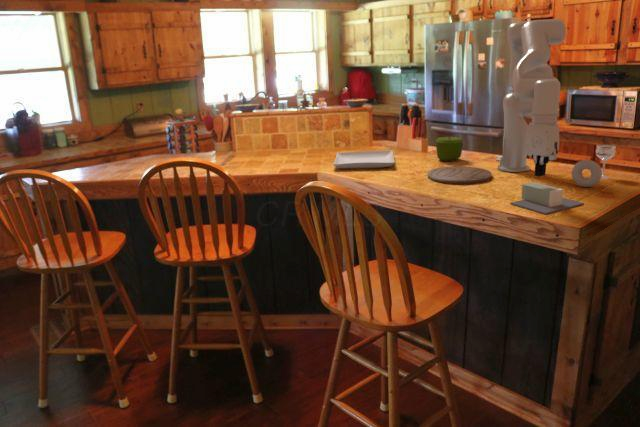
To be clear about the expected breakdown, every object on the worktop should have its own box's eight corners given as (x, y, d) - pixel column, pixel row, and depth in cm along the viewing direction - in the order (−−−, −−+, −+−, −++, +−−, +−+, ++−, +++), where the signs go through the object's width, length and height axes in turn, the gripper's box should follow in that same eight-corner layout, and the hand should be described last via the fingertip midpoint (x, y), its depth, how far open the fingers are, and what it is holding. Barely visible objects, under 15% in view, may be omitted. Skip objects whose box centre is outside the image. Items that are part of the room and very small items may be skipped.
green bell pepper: (457, 163, 237) (458, 138, 234) (431, 161, 243) (431, 137, 240) (465, 158, 247) (466, 134, 244) (440, 156, 253) (441, 132, 250)
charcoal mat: (510, 204, 176) (510, 202, 176) (547, 195, 184) (547, 193, 184) (545, 214, 164) (545, 213, 164) (583, 204, 172) (583, 203, 172)
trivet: (498, 173, 219) (498, 168, 218) (482, 188, 198) (482, 183, 198) (439, 168, 231) (439, 164, 231) (418, 182, 211) (418, 177, 210)
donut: (601, 187, 190) (604, 160, 187) (598, 189, 188) (601, 162, 185) (572, 184, 197) (574, 157, 194) (568, 186, 194) (571, 159, 191)
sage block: (522, 184, 178) (552, 191, 168) (532, 182, 181) (563, 189, 170) (521, 198, 180) (551, 207, 170) (531, 196, 182) (561, 204, 172)
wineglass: (607, 180, 199) (610, 148, 196) (589, 177, 205) (592, 146, 201) (616, 177, 203) (619, 146, 199) (598, 174, 208) (601, 143, 205)
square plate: (392, 157, 258) (392, 149, 257) (394, 170, 232) (394, 161, 231) (337, 158, 261) (337, 151, 260) (333, 171, 235) (332, 163, 234)
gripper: (517, 118, 174) (513, 173, 179) (556, 123, 161) (551, 181, 167) (533, 116, 177) (529, 169, 183) (572, 120, 164) (567, 178, 170)
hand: (539, 175), depth 175 cm, fingers closed
